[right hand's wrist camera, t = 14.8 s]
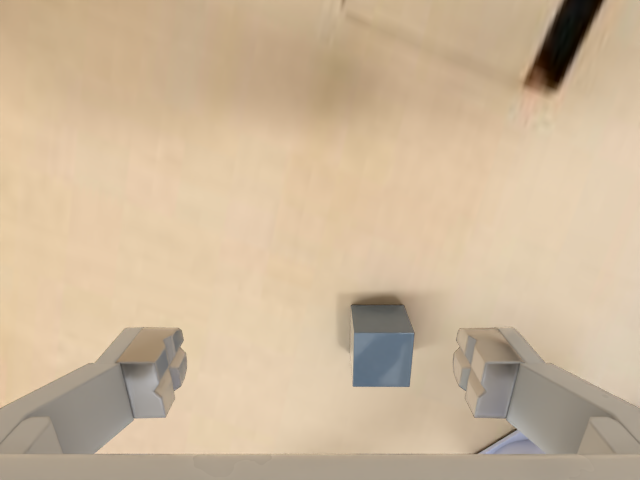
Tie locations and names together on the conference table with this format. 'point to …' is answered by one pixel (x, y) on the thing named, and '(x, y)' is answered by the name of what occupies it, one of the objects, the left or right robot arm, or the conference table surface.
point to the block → (380, 346)
